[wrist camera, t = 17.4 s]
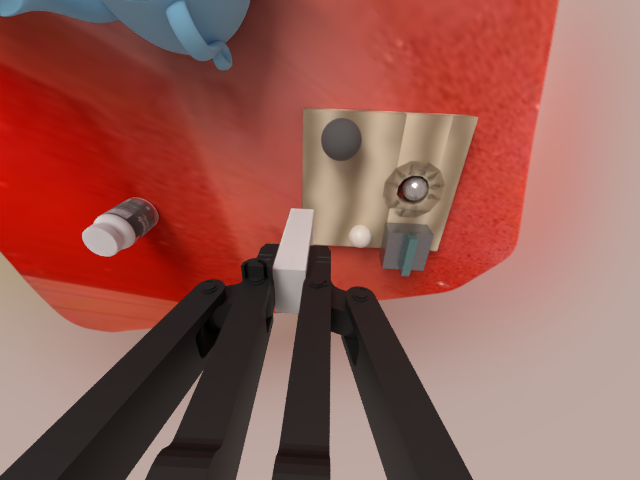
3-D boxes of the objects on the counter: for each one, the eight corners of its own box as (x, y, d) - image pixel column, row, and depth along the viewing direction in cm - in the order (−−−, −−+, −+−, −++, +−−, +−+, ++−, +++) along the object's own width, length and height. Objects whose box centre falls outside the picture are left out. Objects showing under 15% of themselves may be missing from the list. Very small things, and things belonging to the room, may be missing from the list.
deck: (303, 236, 47) (302, 243, 45) (304, 107, 37) (303, 109, 35) (432, 242, 47) (437, 251, 45) (469, 115, 37) (478, 117, 34)
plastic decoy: (347, 239, 44) (348, 251, 41) (349, 220, 43) (350, 231, 40) (368, 240, 44) (371, 252, 41) (371, 221, 42) (374, 232, 39)
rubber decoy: (321, 154, 38) (319, 164, 33) (322, 114, 35) (321, 120, 31) (357, 156, 37) (360, 166, 33) (362, 116, 35) (366, 122, 31)
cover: (379, 256, 46) (383, 274, 41) (385, 222, 42) (391, 238, 38) (418, 258, 45) (426, 277, 41) (427, 224, 42) (437, 240, 38)
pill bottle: (160, 230, 48) (123, 264, 39) (126, 222, 47) (80, 254, 39) (159, 201, 45) (119, 231, 36) (123, 191, 44) (73, 219, 36)
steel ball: (395, 199, 41) (415, 205, 39) (398, 175, 40) (418, 180, 37) (410, 195, 43) (430, 200, 41) (414, 172, 42) (434, 177, 39)
